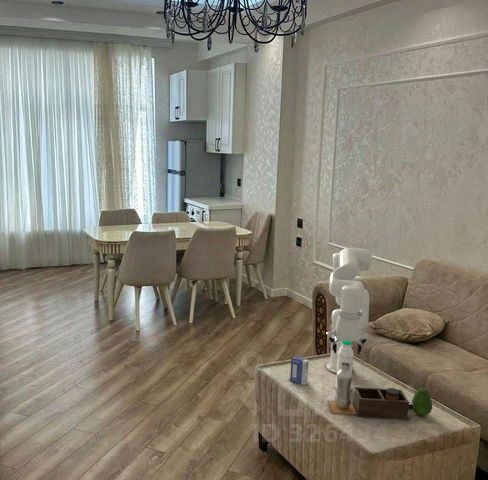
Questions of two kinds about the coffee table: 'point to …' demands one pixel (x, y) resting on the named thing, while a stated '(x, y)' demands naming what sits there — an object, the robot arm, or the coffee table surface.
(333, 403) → the cork mat
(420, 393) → the fruit
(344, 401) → the metal flask
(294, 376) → the walkman
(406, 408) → the brown divided box
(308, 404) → the coffee table surface
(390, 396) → the spice jar
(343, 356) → the water bottle
